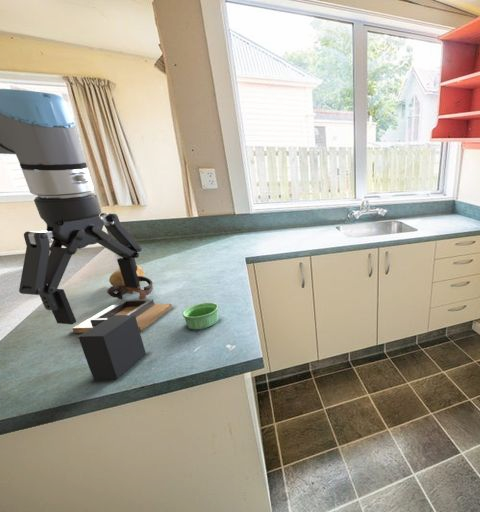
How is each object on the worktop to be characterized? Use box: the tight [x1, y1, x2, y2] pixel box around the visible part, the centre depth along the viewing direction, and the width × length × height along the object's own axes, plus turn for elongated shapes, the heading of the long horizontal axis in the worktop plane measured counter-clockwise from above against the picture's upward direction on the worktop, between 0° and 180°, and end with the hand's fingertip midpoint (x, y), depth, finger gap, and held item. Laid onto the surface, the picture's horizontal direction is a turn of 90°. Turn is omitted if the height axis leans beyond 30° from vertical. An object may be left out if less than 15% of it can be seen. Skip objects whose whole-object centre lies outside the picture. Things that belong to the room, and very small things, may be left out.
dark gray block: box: [77, 315, 147, 381], centre depth 67 cm, size 5×9×11 cm, turn 3°
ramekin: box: [182, 302, 220, 330], centre depth 87 cm, size 9×9×4 cm
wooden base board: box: [71, 298, 173, 334], centre depth 89 cm, size 18×14×4 cm
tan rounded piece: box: [108, 264, 146, 287], centre depth 111 cm, size 10×14×8 cm
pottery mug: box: [107, 276, 154, 301], centre depth 102 cm, size 12×10×8 cm
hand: (103, 302), depth 58 cm, fingers open, 13 cm apart
